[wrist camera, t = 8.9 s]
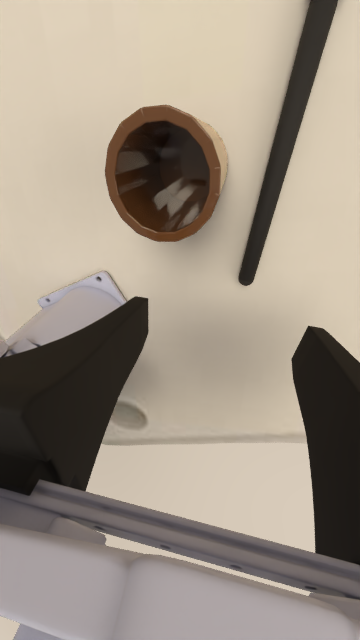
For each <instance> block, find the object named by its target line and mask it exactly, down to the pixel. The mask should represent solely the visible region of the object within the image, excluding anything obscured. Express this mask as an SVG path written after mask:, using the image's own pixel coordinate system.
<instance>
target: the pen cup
mask: <svg viewBox="0 0 360 640" xmlns="http://www.w3.org/2000/svg"><path fill="white" fill-rule="evenodd" d="M227 160H228V158H227V153H226V148H225V146H224V143H223V140H222V138H221V137H220V136H219V134H218V133H217V132H216V131H215V130H214V129H213V128H212V126H210V125H209V124H207V123H205V122H203V121H201V120H199V119H198V118H196V117H194V116H192V115H190V114H188V113H185V112H183V111H181V110H179V109H176V108H174V107H172V106H170V105H159V106H149V107H143V108H140V109H139V110H137V111H136V112H134V113H133V114H132V115H130V116H129V117H128V118H126V119H125V120H123V121H122V122H121V123H120V125H119V126H118V128H117V130H116V132H115V134H114V136H113V138H112V139H111V141H110V143H109V147H108V150H107V158H106V167H105V176H106V181H107V186H108V191H109V196H110V199H111V201H112V203H113V204H114V206H115V208H116V210H117V212H118V213H119V215H120V217H121V218H122V220H123V221H125V222H126V223H127V224H128V225H129V226H130V227H131V228H132V229H133V230H134V231H135V232H137V233H138V234H140V235H142V236H145V237H147V238H149V239H152V240H154V241H158V242H176V241H179V240H182V239H184V238H186V237H189V236H191V235H193V234H195V233H196V232H197V231H198V230H199V229H200V228H201V227H202V226H203V225H204V224H205V223H206V222H207V221H208V220H209V219H210V217H211V216H212V213H213V211H214V208H215V206H216V203H217V201H218V198H219V196H220V193H221V190H222V187H223V184H224V181H225V178H226V175H227V165H228V163H227Z"/></svg>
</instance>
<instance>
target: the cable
mask: <svg viewBox="0 0 360 640" xmlns="http://www.w3.org/2000/svg"><path fill="white" fill-rule="evenodd" d="M337 1H338V0H311V2H310V5H309V8H308V12H307V16H306V20H305V24H304V27H303V31H302V35H301V39H300V43H299V47H298V50H297V54H296V58H295V62H294V66H293V70H292V74H291V77H290V81H289V85H288V89H287V93H286V97H285V101H284V104H283V108H282V112H281V116H280V120H279V124H278V127H277V131H276V135H275V139H274V143H273V147H272V151H271V154H270V158H269V162H268V166H267V170H266V174H265V178H264V181H263V185H262V189H261V193H260V197H259V201H258V204H257V208H256V212H255V216H254V220H253V224H252V228H251V231H250V235H249V239H248V243H247V247H246V251H245V255H244V258H243V262H242V266H241V270H240V274H239V282H240V283H241V284H242V285H245V286H247V285H250V284H251V283H252V282H253V280H254V277H255V274H256V270H257V267H258V264H259V260H260V257H261V254H262V250H263V247H264V244H265V241H266V237H267V234H268V231H269V227H270V224H271V221H272V217H273V214H274V211H275V208H276V204H277V201H278V198H279V194H280V191H281V188H282V185H283V181H284V178H285V175H286V171H287V168H288V165H289V161H290V158H291V155H292V152H293V148H294V145H295V142H296V138H297V135H298V132H299V128H300V125H301V122H302V119H303V115H304V112H305V109H306V105H307V102H308V99H309V95H310V92H311V89H312V86H313V82H314V79H315V76H316V72H317V69H318V66H319V63H320V59H321V56H322V53H323V49H324V46H325V43H326V39H327V36H328V33H329V30H330V26H331V23H332V20H333V16H334V13H335V10H336V6H337Z"/></svg>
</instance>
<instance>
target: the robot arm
mask: <svg viewBox="0 0 360 640" xmlns="http://www.w3.org/2000/svg"><path fill="white" fill-rule="evenodd" d="M98 277H100V278H101V280H100V279H99V278H98ZM38 304H39V305H40V306H41V307H42V310H41V311H39V312H38V313H37V314H36V315H35V316H34V317H32V318H31V319H30V320H29V321H28V322H27V323H25V324H24V325H23V326H22V327H21V328H20V329H18V330H17V331H16V332H15V333H14V334H13V335H11V336H10V337H9V338H8V339H7V340H6V341H5V342H4V341H3V340H0V616H2V617H5V618H7V619H10V620H13V621H16V622H18V623H20V626H19V628H18V630H17V632H16V634H15V637H14V639H13V640H360V362H358V361H357V360H356V359H355V358H354V357H353V356H352V355H351V354H350V353H349V352H348V351H347V350H346V349H345V348H344V347H343V346H342V345H341V344H340V343H339V342H338V341H336V340H335V339H334V338H333V337H332V336H331V335H330V334H329V333H328V332H327V331H326V330H324V329H323V328H318V327H312V326H308V327H307V329H306V331H305V333H304V335H303V337H302V339H301V341H300V343H299V345H298V347H297V349H296V351H295V353H294V355H293V357H292V371H293V380H294V385H295V389H296V393H297V397H298V401H299V406H300V410H301V414H302V418H303V422H304V426H305V431H306V436H307V444H308V451H309V459H310V469H311V479H312V489H313V504H314V522H315V550H316V551H315V553H313V552H309V551H305V550H301V549H298V548H294V547H290V546H287V545H282V544H279V543H275V542H272V541H268V540H264V539H260V538H257V537H253V536H249V535H245V534H242V533H238V532H234V531H230V530H227V529H223V528H219V527H215V526H211V525H208V524H204V523H201V522H197V521H193V520H189V519H186V518H182V517H178V516H175V515H171V514H167V513H163V512H160V511H156V510H152V509H148V508H144V507H141V506H137V505H134V504H130V503H126V502H122V501H119V500H115V499H111V498H107V497H104V496H100V495H96V494H92V493H89V492H85V491H86V488H87V485H88V481H89V478H90V475H91V472H92V469H93V466H94V463H95V460H96V457H97V454H98V451H99V448H100V445H101V442H102V440H103V437H104V434H105V431H106V428H107V426H108V423H109V420H110V418H111V415H112V412H113V410H114V407H115V405H116V402H117V400H118V397H119V395H120V392H121V390H122V388H123V386H124V384H125V382H126V380H127V378H128V376H129V375H130V373H131V371H132V369H133V367H134V365H135V363H136V361H137V359H138V357H139V355H140V353H141V351H142V349H143V346H144V343H145V341H146V338H147V335H148V298H142V297H134V298H132V299H131V300H129V301H128V302H127V301H126V300H125V298H124V297H123V295H122V294H121V292H120V291H119V289H118V288H117V286H116V285H115V283H114V282H113V280H112V279H111V277H110V275H109V274H108V273H107V272H106V271H101V272H98V273H96V274H94V275H91V276H89V277H87V278H85V279H82V280H80V281H78V282H75V283H73V284H71V285H69V286H66V287H64V288H62V289H59V290H57V291H55V292H52V293H50V294H48V295H46V296H43V297H41V298H40V299H38ZM95 530H96V531H95ZM97 531H99V532H103V533H106V534H110V535H113V536H117V537H120V538H124V539H127V540H131V541H134V542H138V543H141V544H145V545H148V546H152V547H155V548H159V549H162V550H166V551H169V552H173V553H176V554H180V555H183V556H187V557H191V558H194V559H198V560H201V561H205V562H208V563H212V564H215V565H219V566H222V567H226V568H229V569H233V570H236V571H240V572H244V573H247V574H250V575H254V576H257V577H261V578H264V579H268V580H271V581H275V582H278V583H282V584H285V585H289V586H292V587H296V588H299V589H303V590H306V591H310V592H313V593H310V595H309V596H306V595H302V594H298V593H295V592H292V591H288V590H285V589H281V588H278V587H274V586H270V585H267V584H264V583H260V582H257V581H253V580H250V579H246V578H243V577H239V576H236V575H233V574H229V573H226V572H222V571H218V570H215V569H212V568H208V567H205V566H201V565H198V564H194V563H190V562H187V561H183V560H179V559H175V558H171V557H166V556H162V555H152V554H143V553H137V552H133V551H128V550H123V549H118V548H114V547H109V546H106V545H105V542H106V538H105V535H104V534H101V533H99V532H97Z"/></svg>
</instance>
